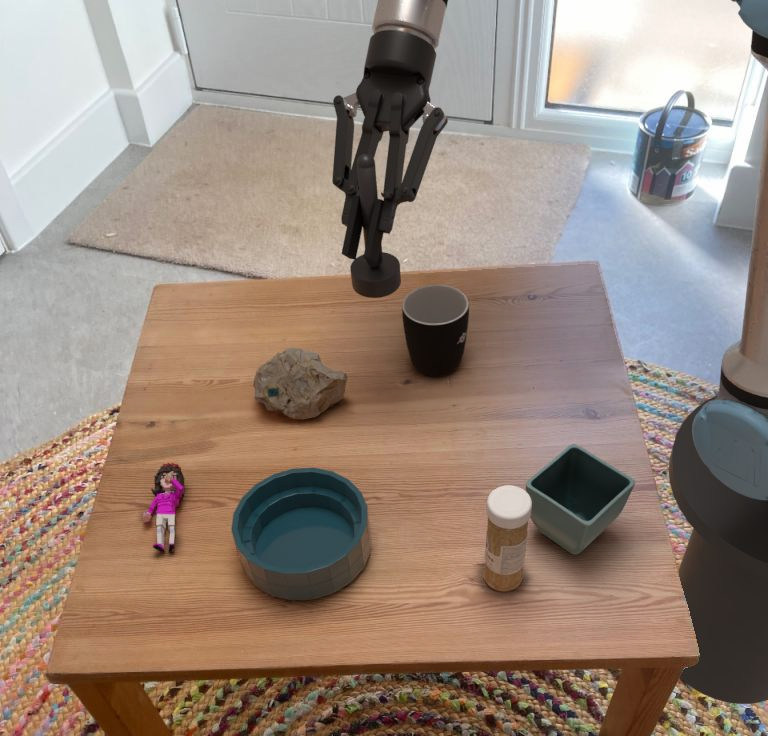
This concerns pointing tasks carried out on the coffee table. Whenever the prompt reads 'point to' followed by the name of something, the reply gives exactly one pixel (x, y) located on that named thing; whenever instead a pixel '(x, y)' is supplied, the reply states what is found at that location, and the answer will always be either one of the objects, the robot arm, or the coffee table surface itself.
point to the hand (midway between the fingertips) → (359, 258)
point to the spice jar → (506, 537)
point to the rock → (298, 384)
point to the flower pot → (577, 497)
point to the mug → (435, 328)
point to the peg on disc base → (364, 274)
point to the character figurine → (166, 502)
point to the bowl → (302, 533)
